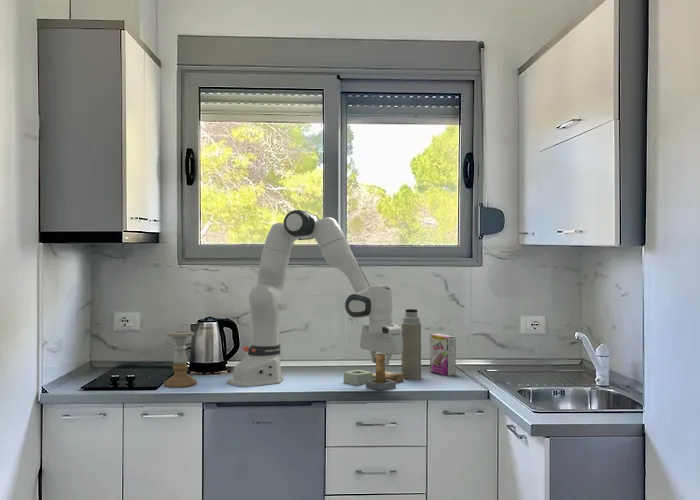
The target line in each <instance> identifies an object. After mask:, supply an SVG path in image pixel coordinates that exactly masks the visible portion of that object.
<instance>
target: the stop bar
mask: <svg viewBox="0 0 700 500" xmlns="http://www.w3.org/2000/svg"><path fill="white" fill-rule="evenodd" d="M385 379H387V380H391V381H396V384H399V383H404V382H405V379H404V374H402V372H401V373H400V372H396V373H395V374H389V375H385Z"/></svg>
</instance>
